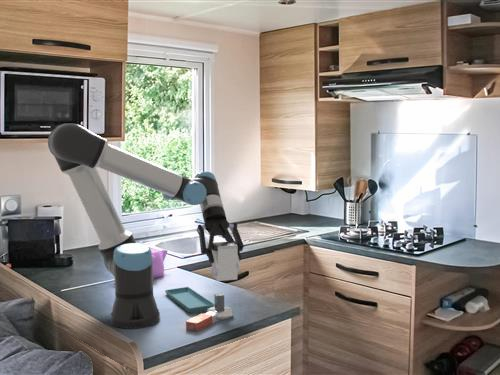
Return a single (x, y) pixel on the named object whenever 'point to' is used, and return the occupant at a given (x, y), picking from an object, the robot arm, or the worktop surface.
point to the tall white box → (225, 260)
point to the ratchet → (210, 315)
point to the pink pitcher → (158, 262)
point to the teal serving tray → (189, 299)
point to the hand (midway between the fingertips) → (227, 269)
